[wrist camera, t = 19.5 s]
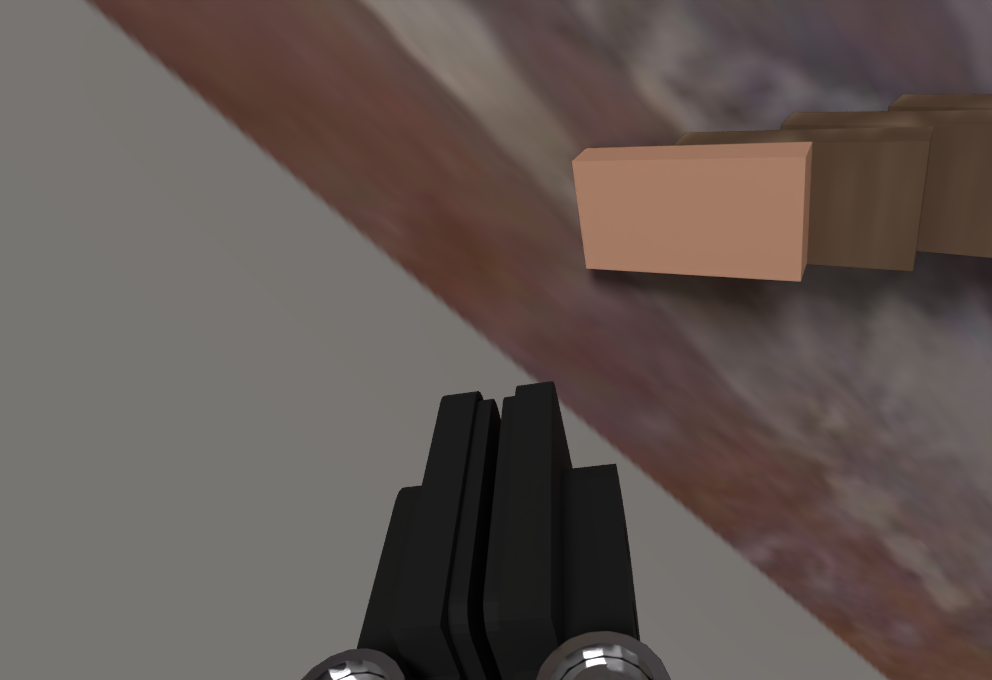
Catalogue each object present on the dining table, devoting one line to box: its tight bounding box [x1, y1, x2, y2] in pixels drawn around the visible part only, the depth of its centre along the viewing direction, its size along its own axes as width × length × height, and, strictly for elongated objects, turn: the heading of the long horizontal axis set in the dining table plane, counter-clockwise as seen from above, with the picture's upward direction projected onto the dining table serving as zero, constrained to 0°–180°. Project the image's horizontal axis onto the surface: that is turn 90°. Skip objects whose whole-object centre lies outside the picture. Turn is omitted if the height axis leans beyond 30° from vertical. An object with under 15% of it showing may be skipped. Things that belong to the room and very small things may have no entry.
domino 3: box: [781, 110, 992, 258], centre depth 27 cm, size 2×5×9 cm
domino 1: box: [572, 142, 812, 282], centre depth 29 cm, size 2×5×9 cm
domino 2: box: [673, 126, 934, 271], centre depth 28 cm, size 2×5×9 cm
